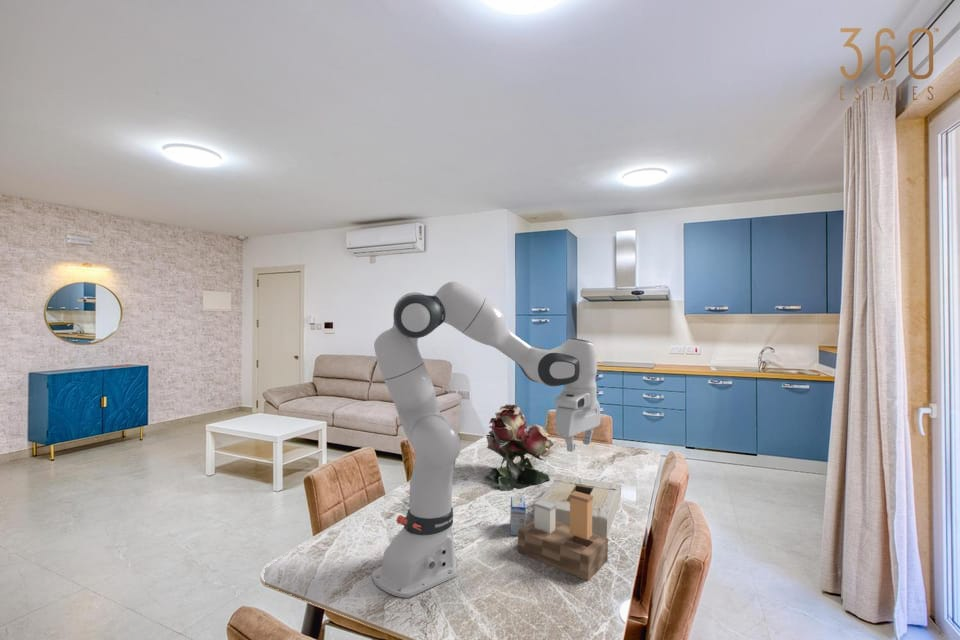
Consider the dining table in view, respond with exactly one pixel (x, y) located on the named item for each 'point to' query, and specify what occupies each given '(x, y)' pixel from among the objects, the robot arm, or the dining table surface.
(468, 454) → the dining table surface
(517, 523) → the medicine box
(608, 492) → the pale hollow square block
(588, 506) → the orange plug
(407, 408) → the robot arm
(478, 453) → the dining table surface
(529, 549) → the block
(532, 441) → the rose bouquet
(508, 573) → the dining table surface
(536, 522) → the cream plug
